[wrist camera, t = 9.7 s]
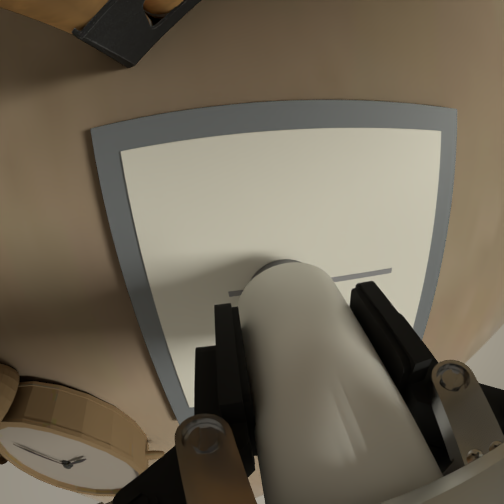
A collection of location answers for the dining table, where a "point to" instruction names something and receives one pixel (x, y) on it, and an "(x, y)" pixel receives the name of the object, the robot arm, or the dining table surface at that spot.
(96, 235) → the dining table surface
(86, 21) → the ammunition clip
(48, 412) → the alarm clock
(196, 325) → the drawing board
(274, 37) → the dining table surface
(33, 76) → the dining table surface
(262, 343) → the marker
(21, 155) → the dining table surface
